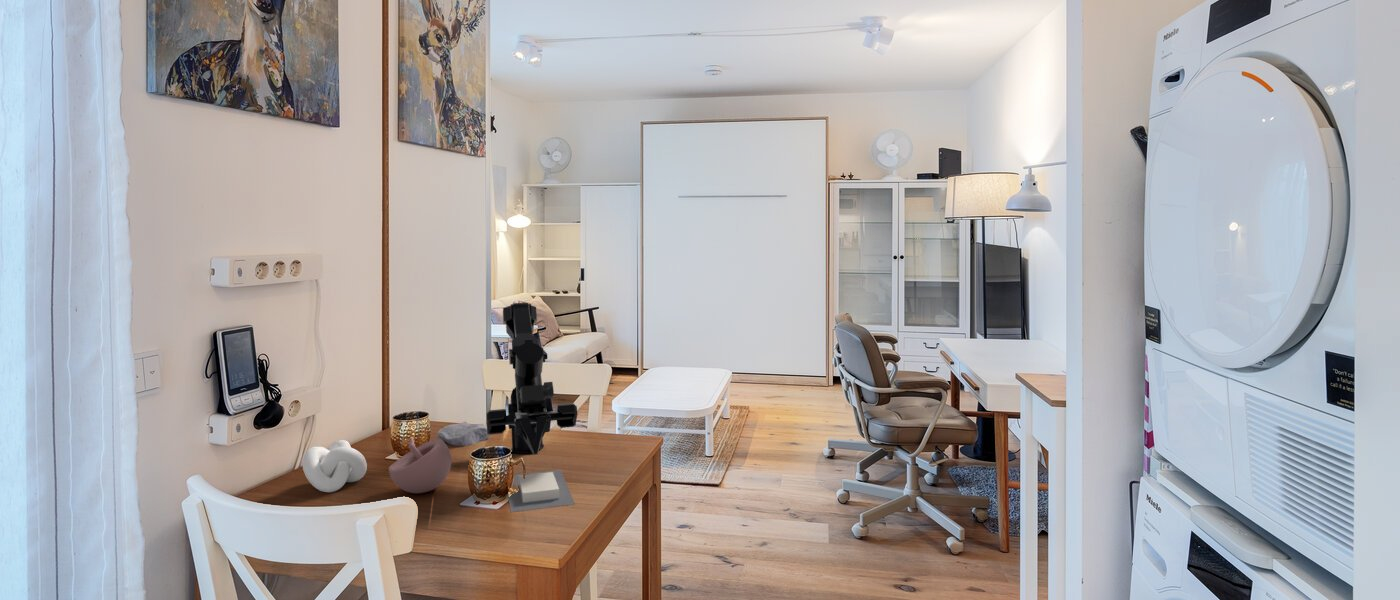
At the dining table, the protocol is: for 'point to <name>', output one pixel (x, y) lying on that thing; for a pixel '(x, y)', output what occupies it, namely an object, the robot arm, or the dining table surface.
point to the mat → (563, 500)
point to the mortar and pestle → (422, 467)
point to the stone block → (463, 434)
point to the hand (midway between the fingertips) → (535, 453)
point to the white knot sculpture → (333, 466)
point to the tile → (538, 487)
